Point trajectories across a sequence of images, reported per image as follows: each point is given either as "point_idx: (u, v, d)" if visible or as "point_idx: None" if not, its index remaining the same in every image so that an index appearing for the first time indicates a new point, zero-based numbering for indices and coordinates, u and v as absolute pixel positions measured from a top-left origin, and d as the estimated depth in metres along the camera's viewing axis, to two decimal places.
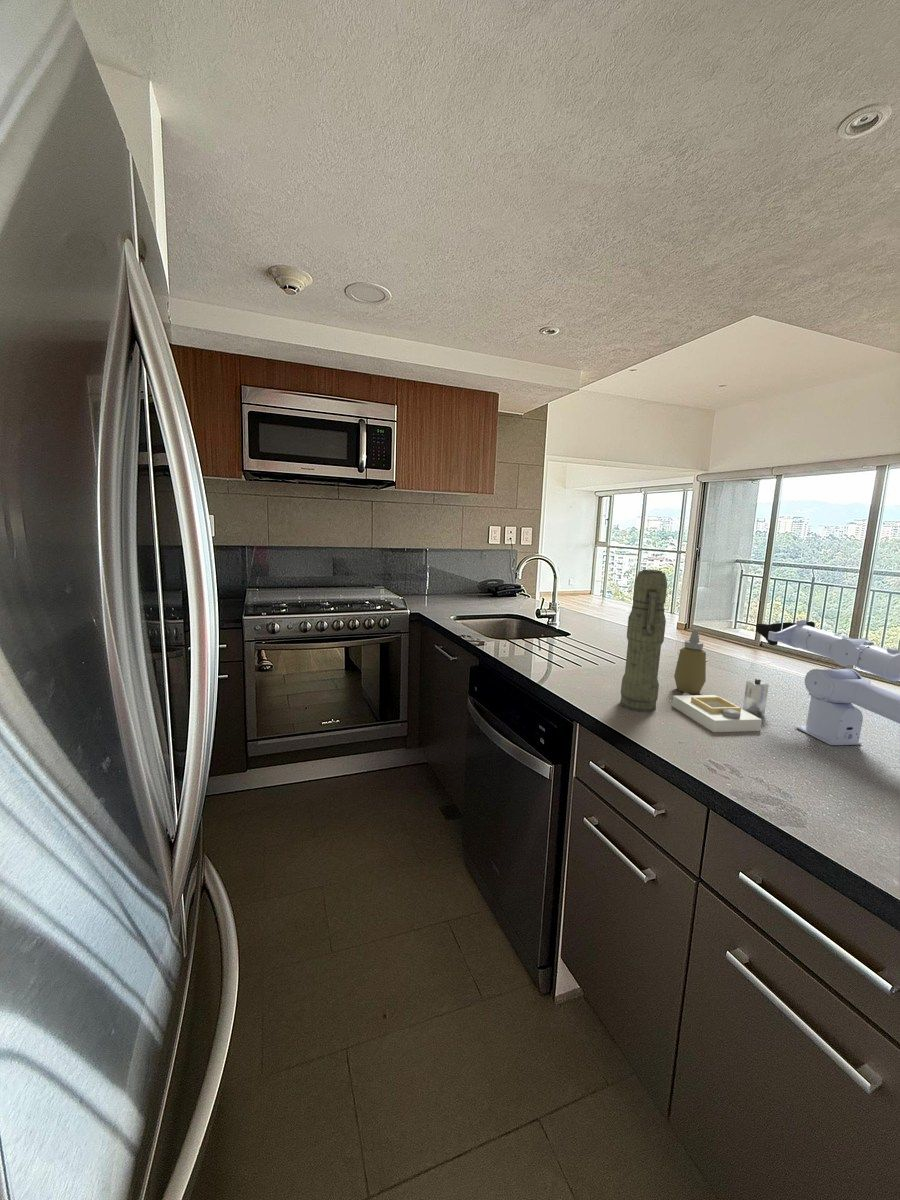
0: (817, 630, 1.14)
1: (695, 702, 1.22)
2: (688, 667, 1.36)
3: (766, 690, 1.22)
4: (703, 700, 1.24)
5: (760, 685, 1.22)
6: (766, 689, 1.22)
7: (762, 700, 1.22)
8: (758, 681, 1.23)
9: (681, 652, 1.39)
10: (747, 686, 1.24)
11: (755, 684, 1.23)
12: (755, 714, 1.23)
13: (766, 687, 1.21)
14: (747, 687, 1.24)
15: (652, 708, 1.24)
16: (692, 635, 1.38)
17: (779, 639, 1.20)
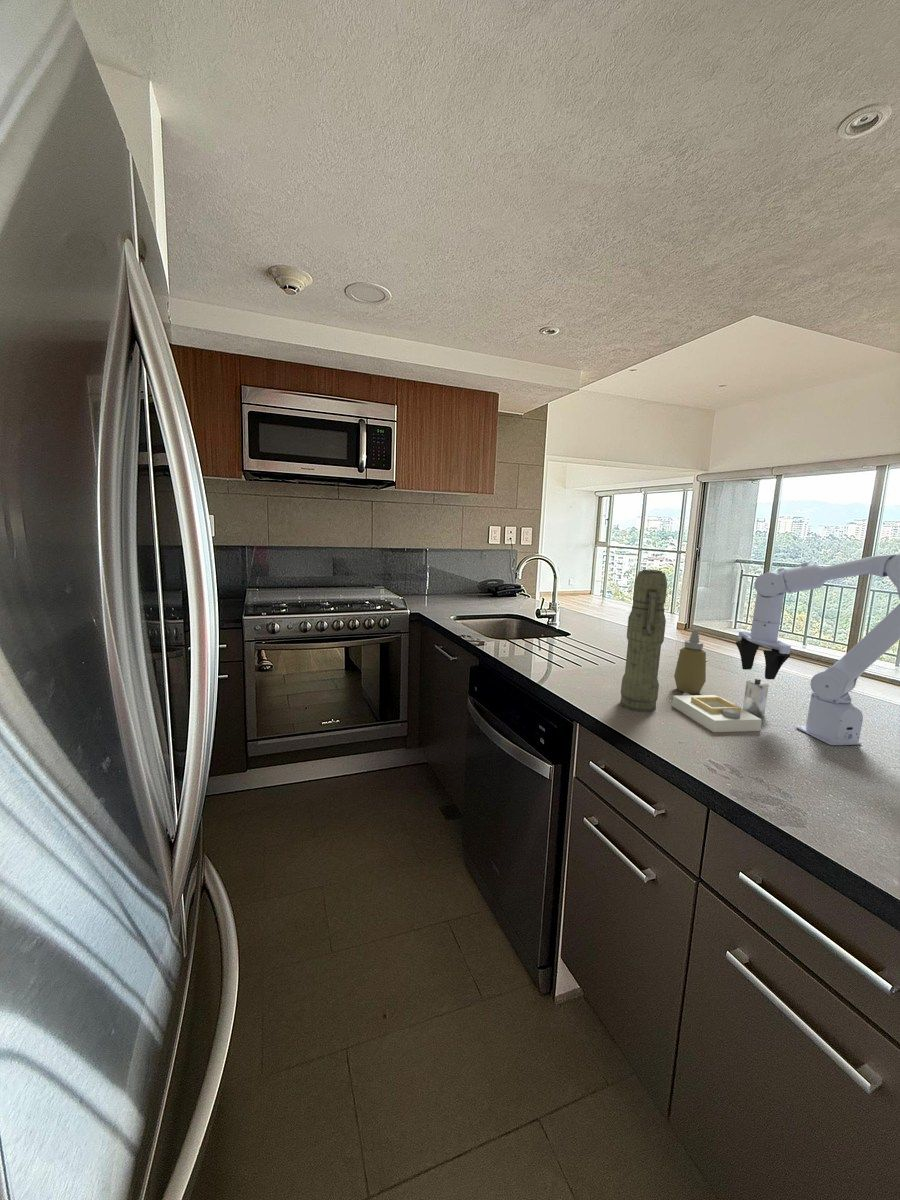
0: (753, 616, 1.22)
1: (695, 702, 1.22)
2: (688, 667, 1.36)
3: (766, 690, 1.22)
4: (703, 700, 1.24)
5: (760, 685, 1.22)
6: (766, 689, 1.22)
7: (762, 700, 1.22)
8: (758, 681, 1.23)
9: (681, 652, 1.39)
10: (747, 686, 1.24)
11: (755, 684, 1.23)
12: (755, 714, 1.23)
13: (766, 687, 1.21)
14: (747, 687, 1.24)
15: (652, 708, 1.24)
16: (692, 635, 1.38)
17: None
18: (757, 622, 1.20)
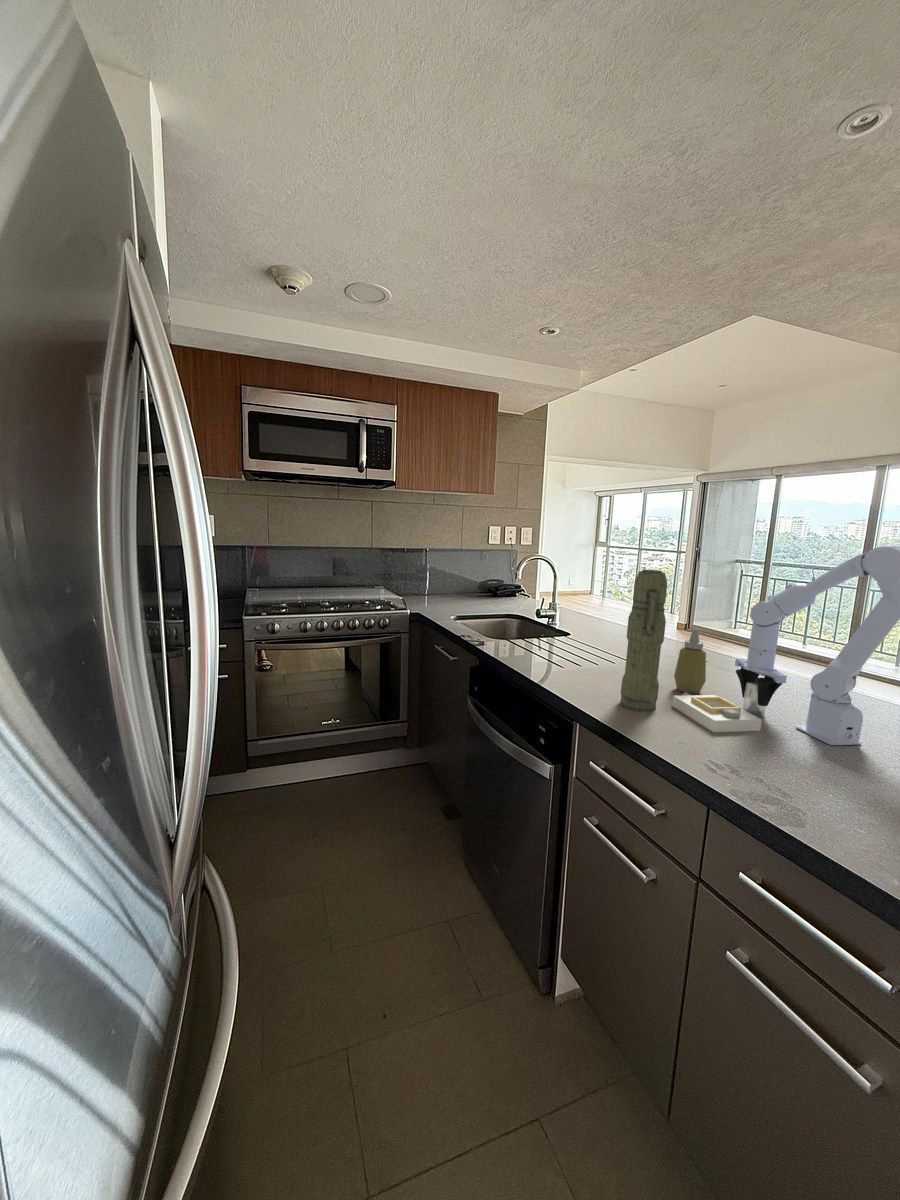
0: (749, 645, 1.24)
1: (695, 702, 1.22)
2: (688, 667, 1.36)
3: None
4: (703, 700, 1.24)
5: None
6: None
7: None
8: None
9: (681, 652, 1.39)
10: (747, 686, 1.24)
11: (755, 684, 1.23)
12: (755, 714, 1.23)
13: None
14: (747, 687, 1.24)
15: (652, 708, 1.24)
16: (692, 635, 1.38)
17: (779, 674, 1.18)
18: (753, 651, 1.21)
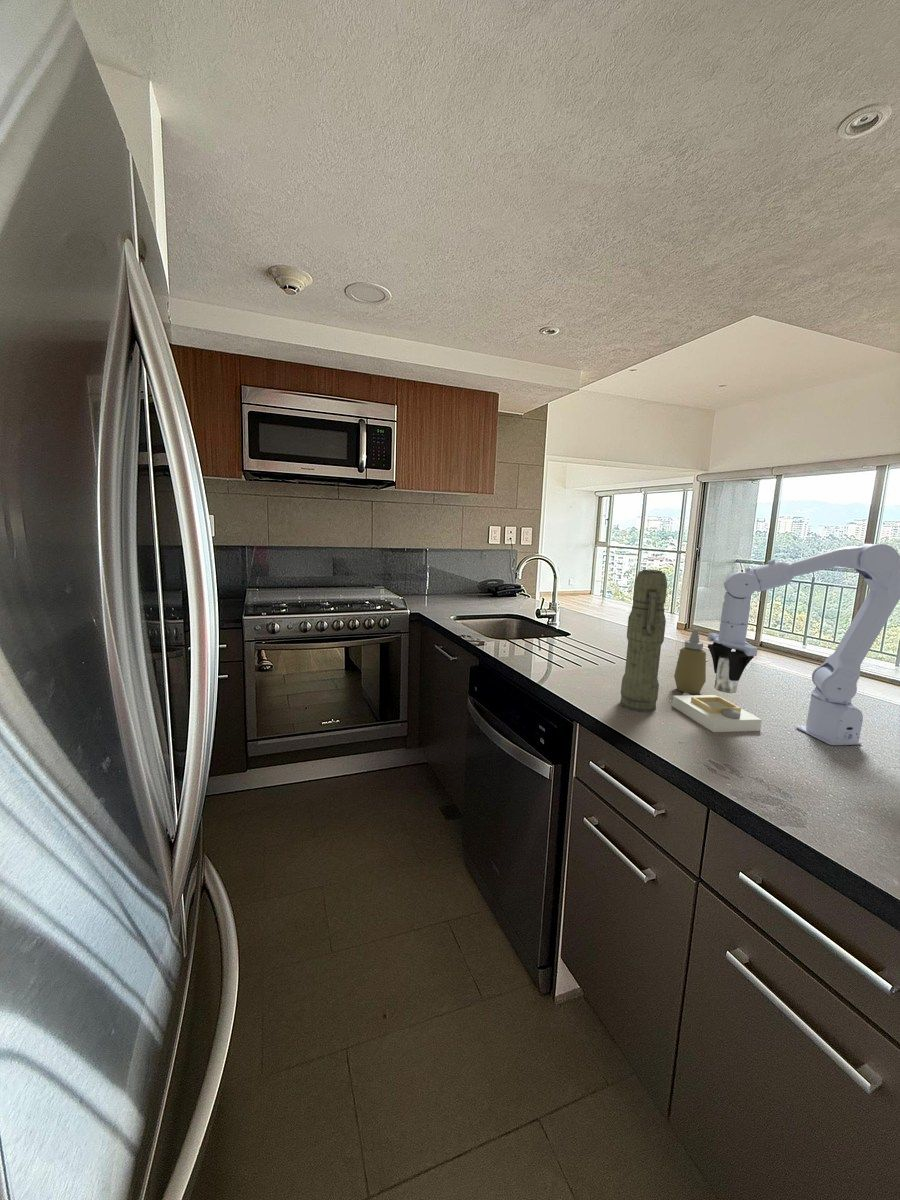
0: (722, 619, 1.18)
1: (695, 702, 1.22)
2: (688, 667, 1.36)
3: None
4: (703, 700, 1.24)
5: None
6: None
7: None
8: None
9: (681, 652, 1.39)
10: (719, 661, 1.20)
11: (727, 659, 1.19)
12: (727, 690, 1.18)
13: None
14: (719, 662, 1.20)
15: (652, 708, 1.24)
16: (692, 635, 1.38)
17: None
18: (724, 623, 1.17)
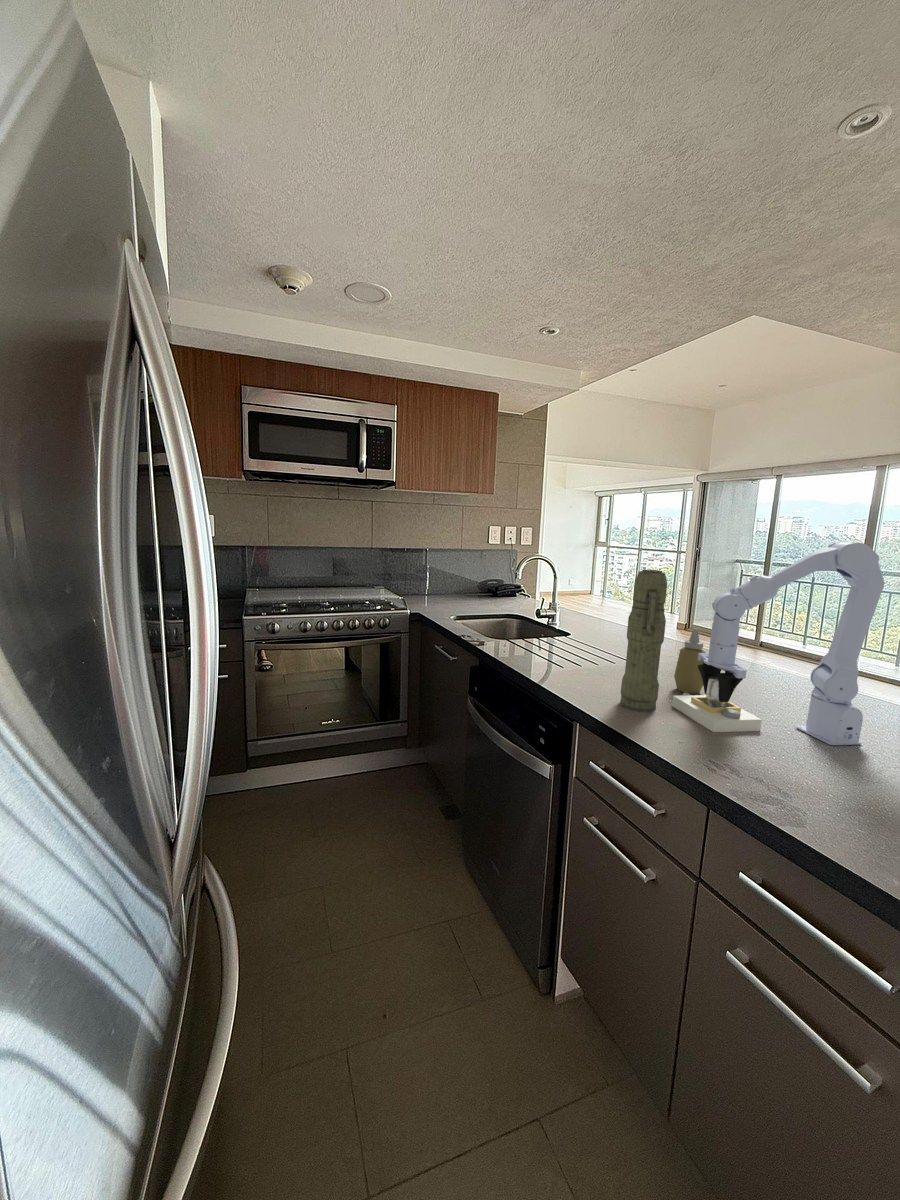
0: (711, 640, 1.18)
1: (695, 702, 1.22)
2: (688, 667, 1.36)
3: None
4: (703, 700, 1.24)
5: None
6: None
7: None
8: None
9: (681, 652, 1.39)
10: (709, 682, 1.20)
11: (717, 680, 1.19)
12: None
13: None
14: (709, 683, 1.20)
15: (652, 708, 1.24)
16: (692, 635, 1.38)
17: None
18: (714, 645, 1.17)
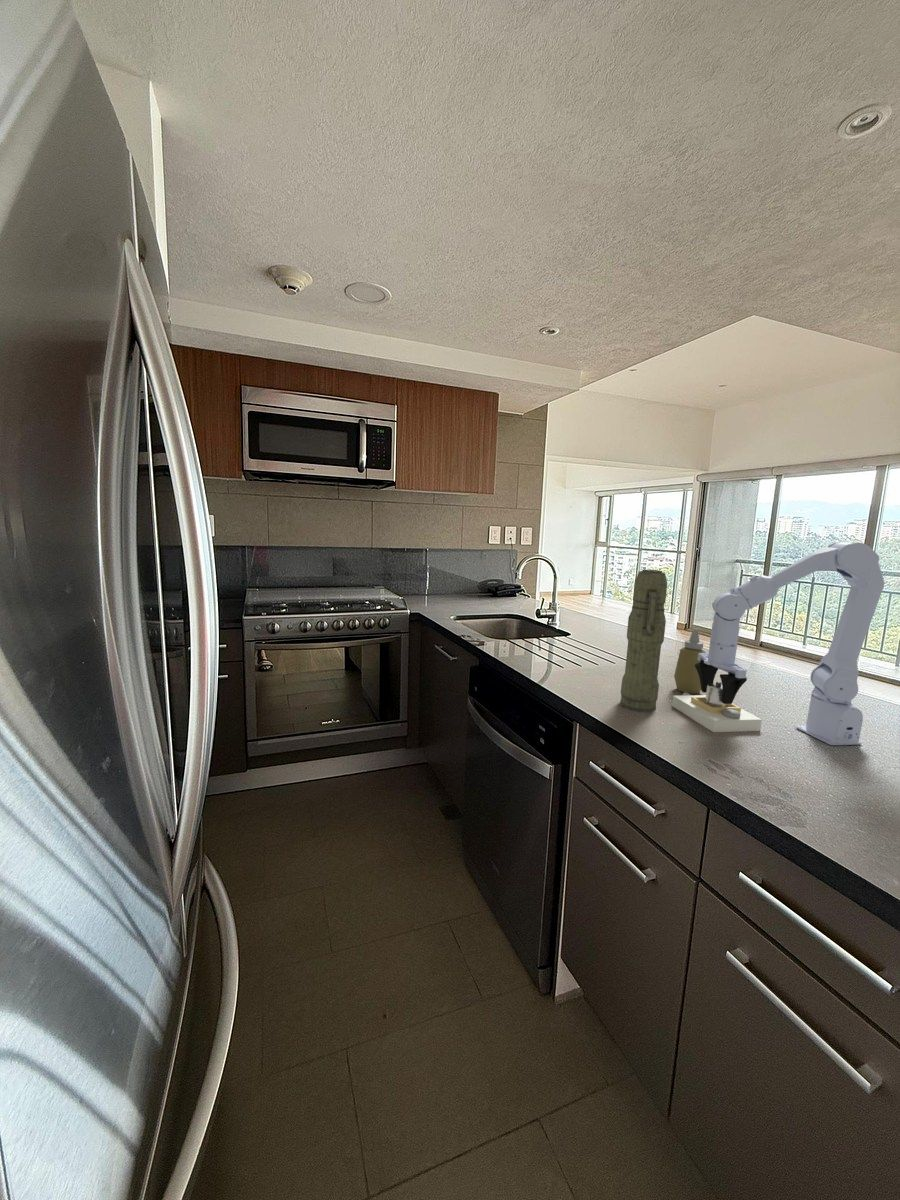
0: (711, 640, 1.18)
1: (695, 702, 1.22)
2: (688, 667, 1.36)
3: None
4: (703, 700, 1.24)
5: (721, 688, 1.18)
6: None
7: (722, 703, 1.18)
8: (719, 684, 1.19)
9: (681, 652, 1.39)
10: (708, 689, 1.20)
11: (716, 687, 1.19)
12: None
13: None
14: (708, 690, 1.20)
15: (652, 708, 1.24)
16: (692, 635, 1.38)
17: None
18: (714, 645, 1.17)
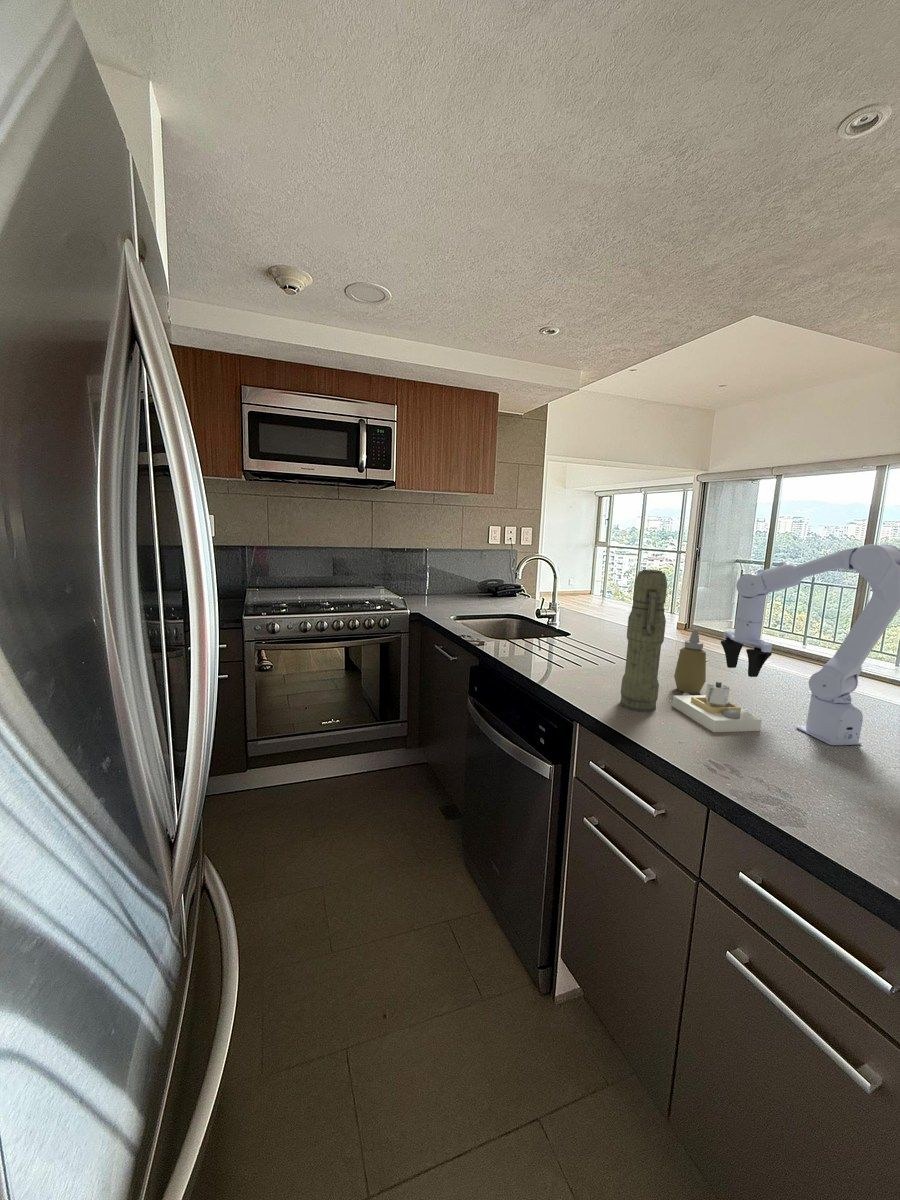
0: None
1: (695, 702, 1.22)
2: (688, 667, 1.36)
3: (727, 693, 1.18)
4: (703, 700, 1.24)
5: (721, 688, 1.18)
6: (727, 692, 1.18)
7: (722, 703, 1.18)
8: (719, 684, 1.19)
9: (681, 652, 1.39)
10: (708, 689, 1.20)
11: (716, 687, 1.19)
12: None
13: (727, 690, 1.18)
14: (708, 690, 1.20)
15: (652, 708, 1.24)
16: (692, 635, 1.38)
17: None
18: (740, 622, 1.25)
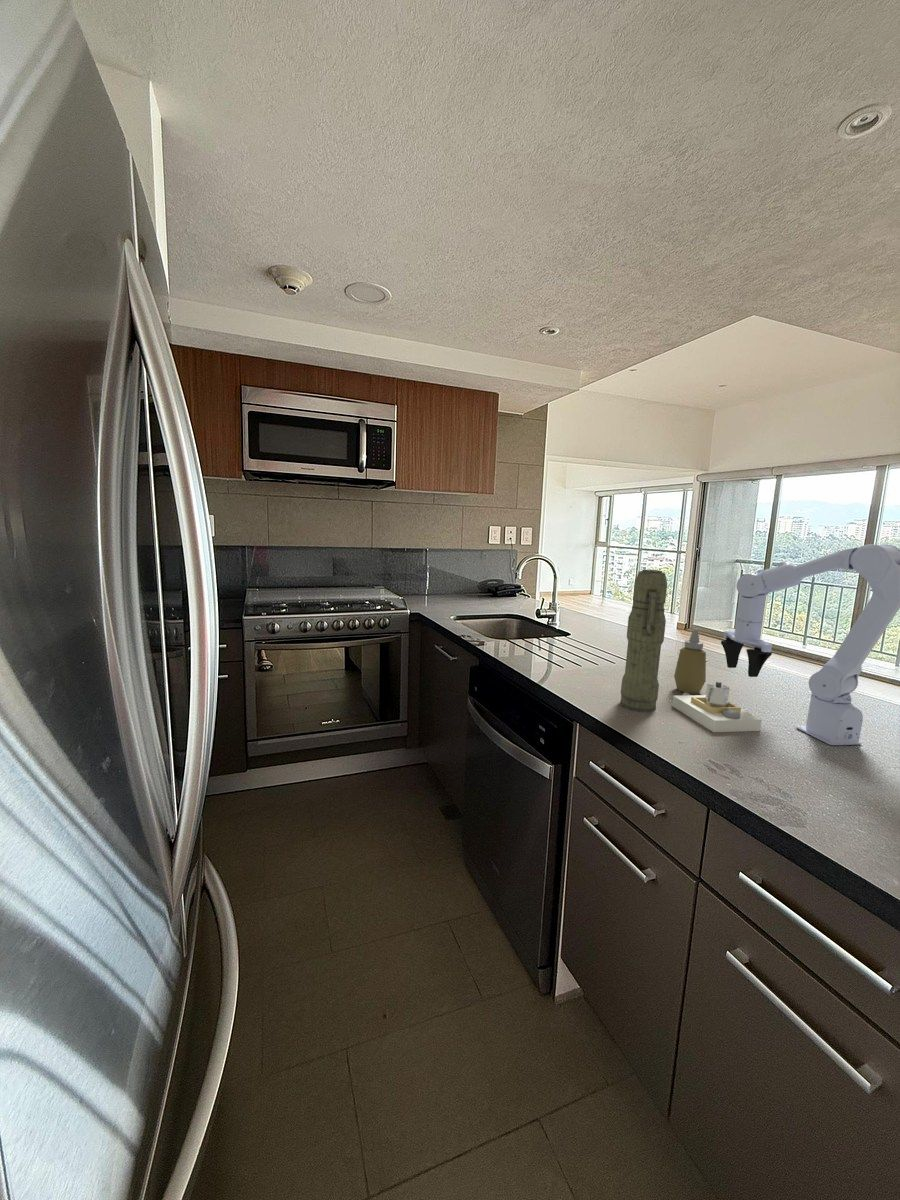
0: None
1: (695, 702, 1.22)
2: (688, 667, 1.36)
3: (727, 693, 1.18)
4: (703, 700, 1.24)
5: (721, 688, 1.18)
6: (727, 692, 1.18)
7: (722, 703, 1.18)
8: (719, 684, 1.19)
9: (681, 652, 1.39)
10: (708, 689, 1.20)
11: (716, 687, 1.19)
12: None
13: (727, 690, 1.18)
14: (708, 690, 1.20)
15: (652, 708, 1.24)
16: (692, 635, 1.38)
17: None
18: (740, 622, 1.25)
